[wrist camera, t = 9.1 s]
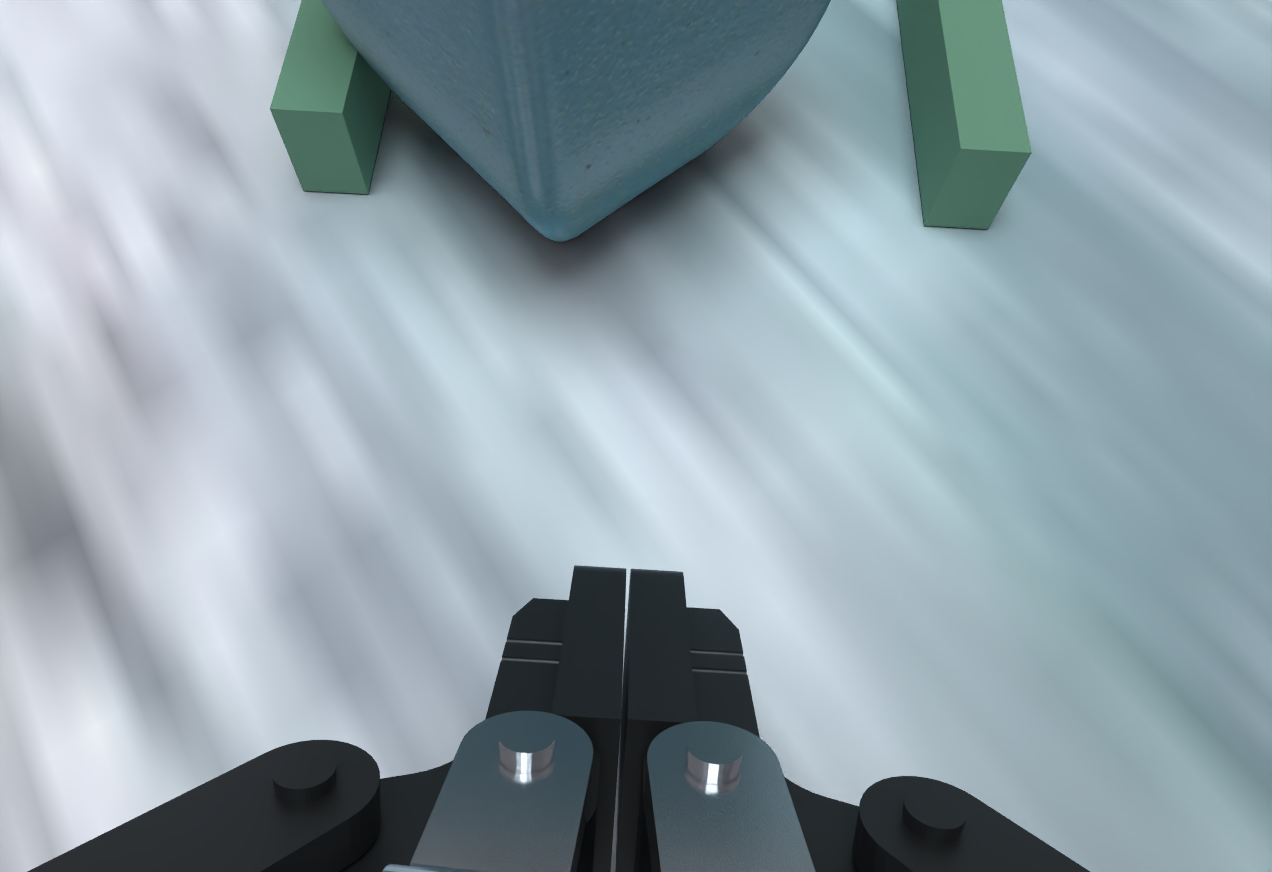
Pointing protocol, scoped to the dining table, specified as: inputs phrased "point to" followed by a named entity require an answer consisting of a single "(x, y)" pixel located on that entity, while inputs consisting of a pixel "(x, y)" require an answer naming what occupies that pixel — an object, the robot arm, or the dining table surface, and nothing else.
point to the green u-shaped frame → (935, 73)
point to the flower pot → (578, 86)
